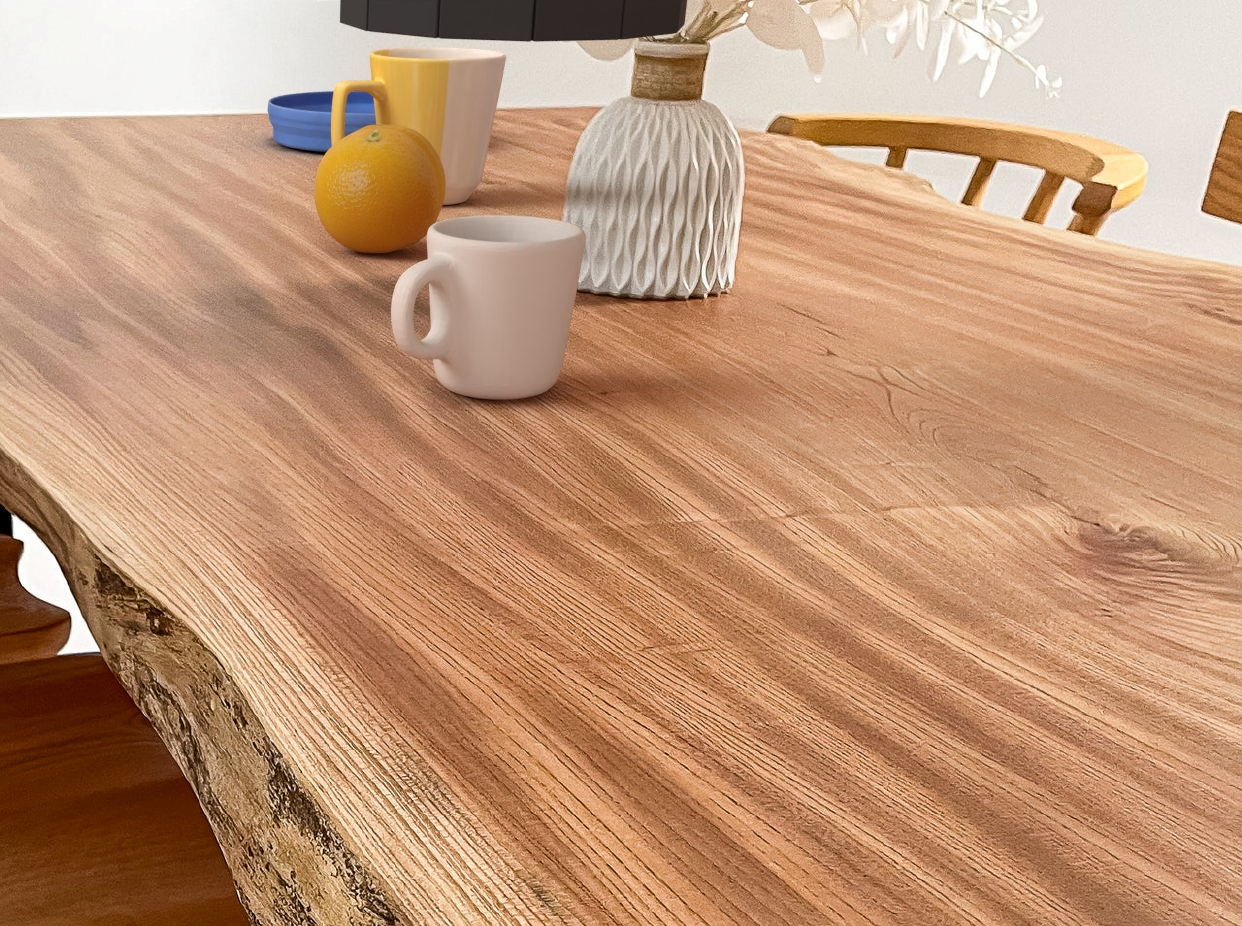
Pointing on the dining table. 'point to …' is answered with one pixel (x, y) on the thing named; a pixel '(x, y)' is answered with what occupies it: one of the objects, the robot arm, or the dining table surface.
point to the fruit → (380, 189)
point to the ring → (517, 18)
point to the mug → (434, 104)
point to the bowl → (316, 118)
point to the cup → (493, 303)
